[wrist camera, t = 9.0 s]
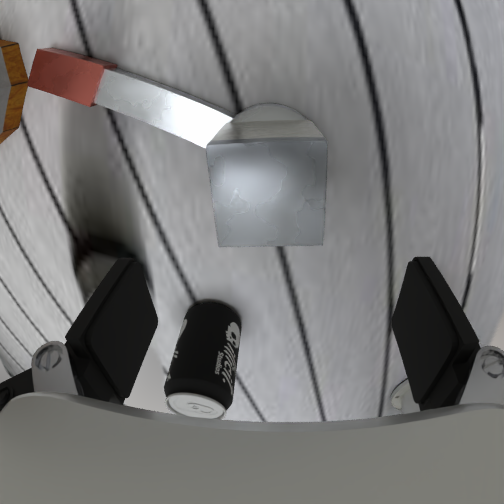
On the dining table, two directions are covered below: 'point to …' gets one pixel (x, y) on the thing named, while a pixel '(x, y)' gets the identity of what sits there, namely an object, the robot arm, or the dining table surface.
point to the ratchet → (140, 96)
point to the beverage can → (204, 363)
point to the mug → (11, 87)
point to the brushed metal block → (268, 183)
